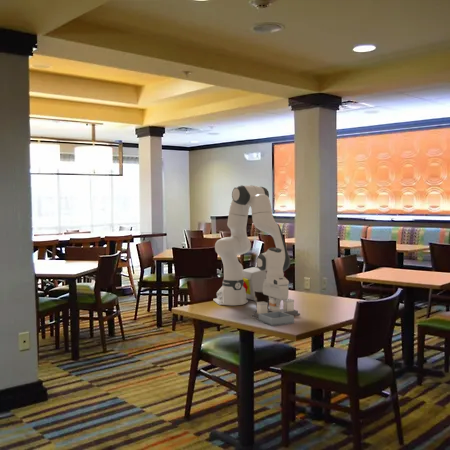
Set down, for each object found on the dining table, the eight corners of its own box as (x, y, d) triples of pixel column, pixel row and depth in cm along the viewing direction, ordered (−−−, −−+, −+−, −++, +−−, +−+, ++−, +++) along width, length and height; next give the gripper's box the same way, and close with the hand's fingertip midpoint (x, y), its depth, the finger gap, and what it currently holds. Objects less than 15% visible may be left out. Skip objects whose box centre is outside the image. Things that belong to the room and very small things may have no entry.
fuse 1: (256, 315, 273) (256, 302, 273) (263, 314, 275) (263, 301, 274) (260, 317, 269) (260, 303, 269) (267, 316, 271) (267, 302, 271)
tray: (258, 320, 265) (258, 313, 264) (280, 318, 270) (280, 311, 270) (271, 326, 253) (271, 318, 253) (294, 323, 259) (294, 316, 259)
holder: (250, 316, 274) (250, 312, 273) (291, 312, 285) (291, 307, 285) (258, 319, 266) (258, 315, 266) (300, 314, 277) (300, 310, 277)
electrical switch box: (236, 301, 326) (232, 269, 324) (257, 296, 332) (253, 265, 330) (247, 305, 313) (243, 272, 310) (269, 300, 319) (265, 267, 317)
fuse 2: (282, 312, 280) (282, 299, 280) (289, 311, 282) (289, 298, 282) (287, 314, 276) (287, 300, 276) (294, 313, 278) (294, 299, 278)
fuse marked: (269, 310, 276) (269, 297, 276) (276, 309, 278) (276, 296, 278) (273, 312, 273) (273, 298, 272) (280, 311, 275) (280, 297, 274)
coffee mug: (269, 310, 289) (269, 292, 288) (253, 310, 290) (253, 291, 290) (271, 306, 300) (271, 288, 300) (256, 306, 302) (256, 288, 301)
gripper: (259, 277, 283) (259, 302, 283) (280, 282, 264) (279, 310, 265) (269, 276, 285) (269, 301, 286) (290, 281, 267) (290, 309, 268)
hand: (274, 305), depth 275 cm, fingers closed on fuse marked, 4 cm apart
